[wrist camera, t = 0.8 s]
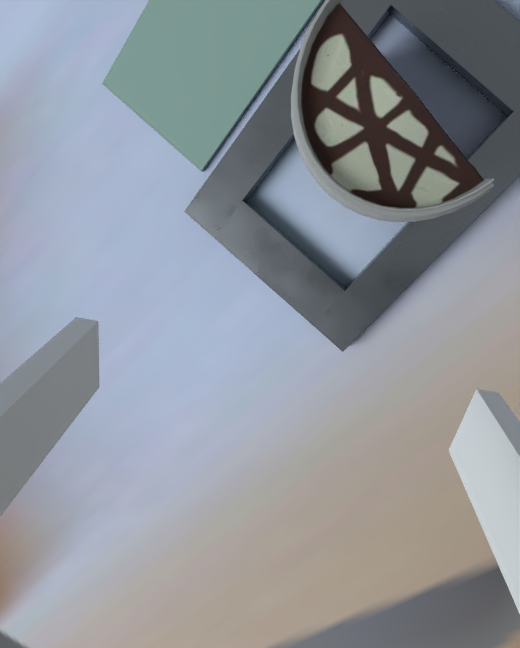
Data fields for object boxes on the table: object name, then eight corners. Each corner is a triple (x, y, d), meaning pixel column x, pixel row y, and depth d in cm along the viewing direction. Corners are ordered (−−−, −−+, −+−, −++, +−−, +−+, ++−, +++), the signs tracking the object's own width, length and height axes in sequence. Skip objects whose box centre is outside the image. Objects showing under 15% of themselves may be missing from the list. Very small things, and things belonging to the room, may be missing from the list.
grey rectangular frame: (591, 98, 26) (601, 93, 25) (343, 347, 33) (342, 351, 32) (394, -73, 26) (395, -86, 25) (190, 211, 34) (184, 211, 33)
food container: (273, 124, 31) (233, 84, 21) (340, 55, 29) (330, -23, 19) (383, 256, 31) (391, 274, 22) (457, 197, 29) (502, 188, 20)
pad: (348, -36, 27) (348, -39, 27) (202, 171, 33) (201, 171, 32) (231, -138, 28) (229, -143, 27) (105, 85, 33) (102, 83, 32)
